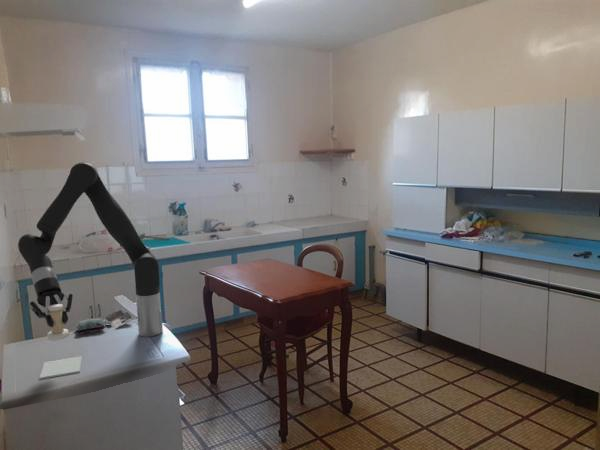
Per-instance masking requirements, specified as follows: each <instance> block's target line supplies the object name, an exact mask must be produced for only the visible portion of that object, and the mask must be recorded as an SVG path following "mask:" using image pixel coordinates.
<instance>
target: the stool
mask: <svg viewBox="0 0 600 450" xmlns="http://www.w3.org/2000/svg"><path fill="white" fill-rule="evenodd" d="M63 306H64V304H63V305H62V304H54V305H50V306H48V310H49V311H50V315H51V318H52V321H53V327H51V330H50V331H48V332H47V333H46V335H47V336H46V337H47V340H48V341H60V340H64V339H67V338H68V337H69V329H67V328H64V324H63V317H62V309H63Z"/></svg>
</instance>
